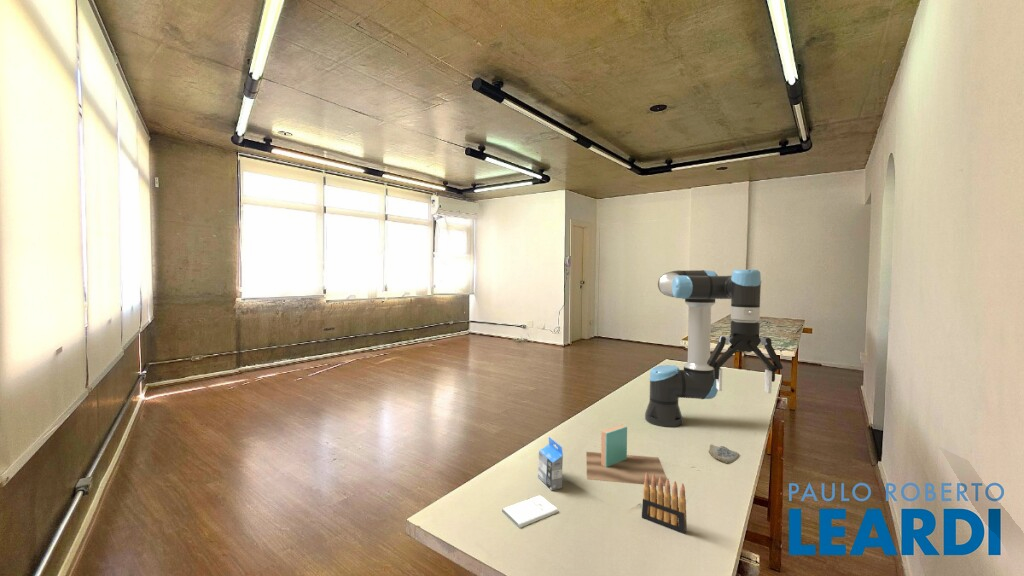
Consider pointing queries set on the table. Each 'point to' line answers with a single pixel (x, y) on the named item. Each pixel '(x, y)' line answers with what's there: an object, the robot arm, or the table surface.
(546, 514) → the external hard drive
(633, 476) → the board
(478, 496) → the table surface
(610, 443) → the tile
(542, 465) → the label tape box
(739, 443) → the table surface
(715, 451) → the ceramic fragment
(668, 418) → the robot arm
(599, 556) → the table surface
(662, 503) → the ammunition clip
